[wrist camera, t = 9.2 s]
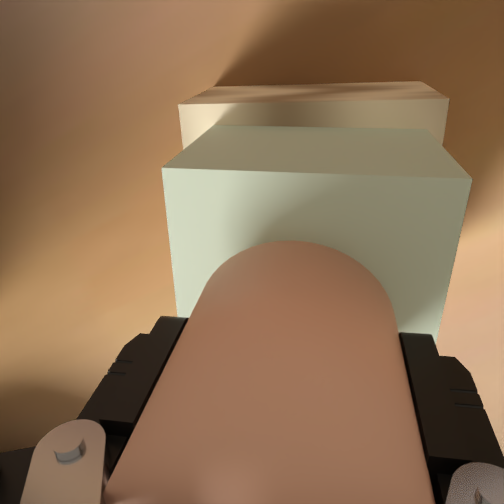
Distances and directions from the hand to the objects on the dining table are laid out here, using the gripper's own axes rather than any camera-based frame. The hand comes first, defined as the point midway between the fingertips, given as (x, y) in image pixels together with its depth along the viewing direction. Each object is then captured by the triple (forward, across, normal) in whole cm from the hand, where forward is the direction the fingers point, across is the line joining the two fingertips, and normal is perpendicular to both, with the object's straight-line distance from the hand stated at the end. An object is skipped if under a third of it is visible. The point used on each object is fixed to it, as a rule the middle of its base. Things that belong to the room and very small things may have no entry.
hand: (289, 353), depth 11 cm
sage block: (+8, 0, 0) cm, 8 cm away
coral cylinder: (+1, 0, 0) cm, 1 cm away
